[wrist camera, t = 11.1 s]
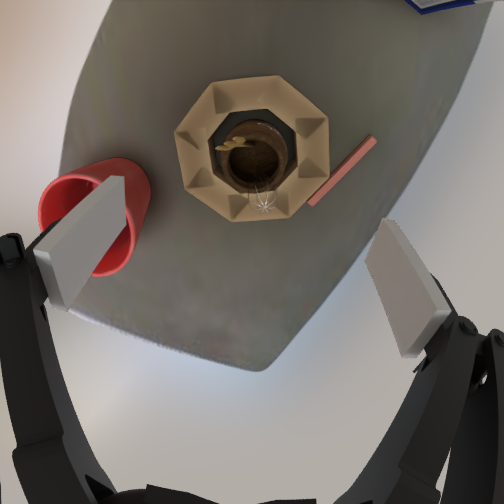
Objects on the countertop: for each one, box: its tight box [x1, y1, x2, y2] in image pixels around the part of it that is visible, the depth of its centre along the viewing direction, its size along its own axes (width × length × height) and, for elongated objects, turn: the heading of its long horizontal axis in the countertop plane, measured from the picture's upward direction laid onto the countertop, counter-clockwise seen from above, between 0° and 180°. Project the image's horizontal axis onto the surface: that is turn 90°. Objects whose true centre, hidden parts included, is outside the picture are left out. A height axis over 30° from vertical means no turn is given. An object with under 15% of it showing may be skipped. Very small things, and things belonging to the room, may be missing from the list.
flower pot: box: [38, 158, 151, 277], centre depth 27 cm, size 11×11×10 cm
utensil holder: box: [215, 120, 288, 214], centre depth 24 cm, size 6×6×12 cm
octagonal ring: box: [174, 75, 330, 222], centre depth 27 cm, size 14×14×3 cm
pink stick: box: [306, 135, 377, 207], centre depth 29 cm, size 10×1×1 cm, turn 141°
